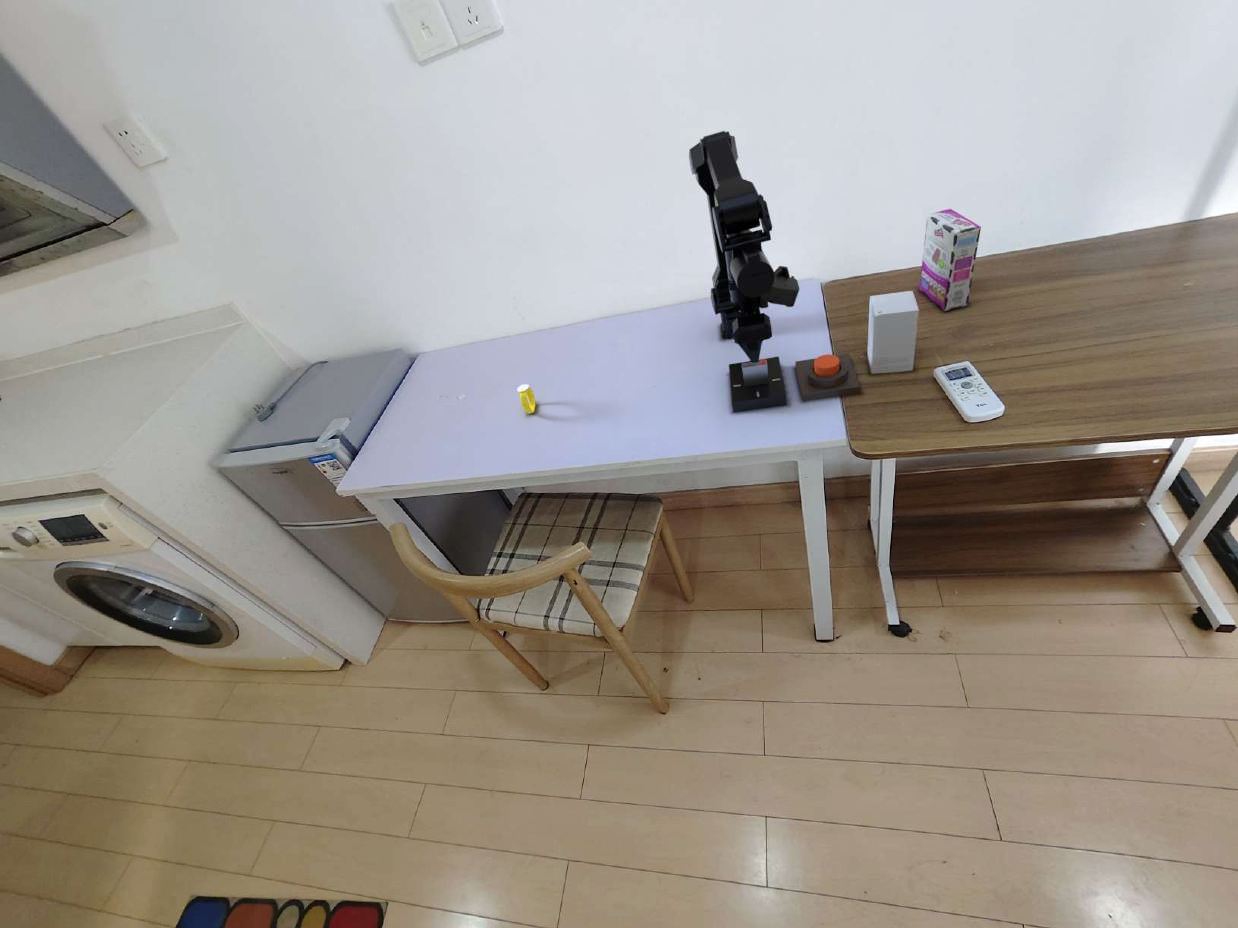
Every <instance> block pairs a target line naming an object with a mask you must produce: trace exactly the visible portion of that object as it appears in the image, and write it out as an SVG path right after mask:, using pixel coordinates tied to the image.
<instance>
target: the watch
mask: <svg viewBox="0 0 1238 928" xmlns="http://www.w3.org/2000/svg"><path fill="white" fill-rule="evenodd" d="M516 391H517V393H518V394H519V398H520V402H521V406H522V409H523V410H524V412H525V413H526V414H533V413H535V409H536V405H537V404H536V399H535V395H534V391H533V390H532V388H531V386H530V385H529V384H528V383H524V384H521V385H520V386H518V387H517V389H516Z"/></svg>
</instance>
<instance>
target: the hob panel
mask: <svg viewBox="0 0 1238 928" xmlns="http://www.w3.org/2000/svg"><path fill="white" fill-rule="evenodd" d="M763 359H765V360H767V367H768V377H769V384H763V385H756V386H749V387H745V385H744V378H743V370H742V363H748V362H751V360H748V361H747V360H746V361H741V362H734V363H729V364H728V373H729V386H730V398H731V399H730V401H731V407H732V412H733V413H739V412H748V411H755V410H764V409H771V408H779V407H785V406H787V405H788V402H787V401H788V400H787V392H786V388H785V387H786V386H785V383H784V381H785V380H784V377H783V371H782V366H781V360H780V356H773V357H766V358H759V361H760V360H763Z"/></svg>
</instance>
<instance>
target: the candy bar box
mask: <svg viewBox="0 0 1238 928" xmlns="http://www.w3.org/2000/svg"><path fill="white" fill-rule="evenodd" d="M981 229H982V226H981V225H979V224H977V223H976V222H973V221H972V220H970V219H969V218H967V217H965V216H963V214H960V213H959V212H957V211H955V210H953V209H952V208H948V209H944V210H940V211H937V212H933V213H930V214H927V215H926V226H925V233H924V242H923V251H922V263H921V269H920V280H919V291H921V293H923V294H924V295H925V296H926V297H927V298H929V299H930V300H931V301H932V302H933V303H934V304H935V305H937V307H939V308H940V309H942V310H943V312H948V311H952V310H956V309H960V308H964V307H968V306H969V305H968V304H969V301H970V299H969V298H970V293H971V289H972V288H971V287H972V281H973V276H974V270H975V264H976V258H977V252H978V246H979V243H980V235H981Z"/></svg>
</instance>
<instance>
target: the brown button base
mask: <svg viewBox="0 0 1238 928" xmlns="http://www.w3.org/2000/svg"><path fill="white" fill-rule="evenodd" d="M849 354H850V353H843V354H841V353H840V354H834V355H835V356H837V357H838V358H839V372H838V373H837V374H835V375H833V376H827V377H824V376H818V375H817V374H816V373H815V369H814V361H815V359H816V358H817V357H815V358H810V359H809V358H808V359H803V360H797V361H795V372H796V376H797V381H798V385H799V389H800V393H801V398H802V401H803V402H807V401H808V402H810V401H816V400H824V399H830V398H839V397H846V396H853V395H859V394H861V386H860V383H859V380H858V377H857V375H856V371H855V368H854V365H853V363H852V359H851V357H850V355H849Z"/></svg>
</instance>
